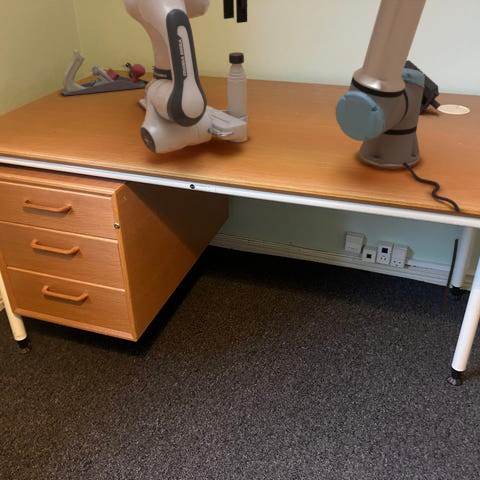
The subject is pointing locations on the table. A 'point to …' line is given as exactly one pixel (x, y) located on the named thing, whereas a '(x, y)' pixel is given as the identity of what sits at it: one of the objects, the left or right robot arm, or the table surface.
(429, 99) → the tool
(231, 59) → the cap
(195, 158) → the table surface
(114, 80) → the hand plane
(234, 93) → the bottle
